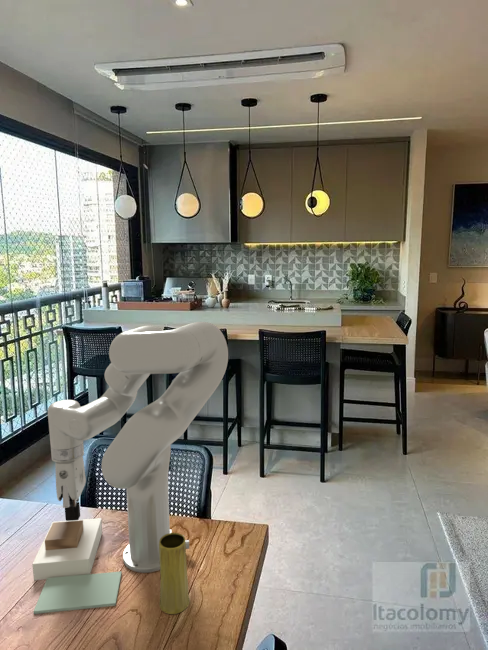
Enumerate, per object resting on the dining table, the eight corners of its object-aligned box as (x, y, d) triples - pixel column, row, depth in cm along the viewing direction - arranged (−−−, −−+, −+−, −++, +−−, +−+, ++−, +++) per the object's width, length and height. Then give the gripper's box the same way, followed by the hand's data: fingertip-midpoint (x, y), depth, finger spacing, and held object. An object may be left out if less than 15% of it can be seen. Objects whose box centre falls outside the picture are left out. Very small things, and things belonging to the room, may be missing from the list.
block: (83, 529, 113) (82, 520, 113) (77, 547, 107) (76, 537, 106) (53, 531, 113) (53, 522, 112) (45, 550, 106) (44, 540, 105)
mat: (121, 573, 104) (121, 571, 104) (115, 605, 94) (115, 603, 94) (47, 580, 102) (47, 578, 102) (33, 614, 92) (33, 611, 92)
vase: (164, 591, 98) (162, 530, 96) (192, 593, 98) (190, 532, 95) (155, 613, 92) (152, 548, 90) (185, 616, 92) (183, 551, 89)
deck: (102, 532, 119) (101, 518, 118) (89, 575, 103) (88, 559, 103) (53, 536, 117) (52, 521, 117) (33, 580, 102) (32, 564, 101)
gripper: (76, 463, 107) (81, 535, 110) (89, 437, 122) (94, 501, 125) (42, 465, 106) (48, 538, 109) (60, 439, 121) (65, 503, 124)
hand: (73, 518), depth 117 cm, fingers closed
